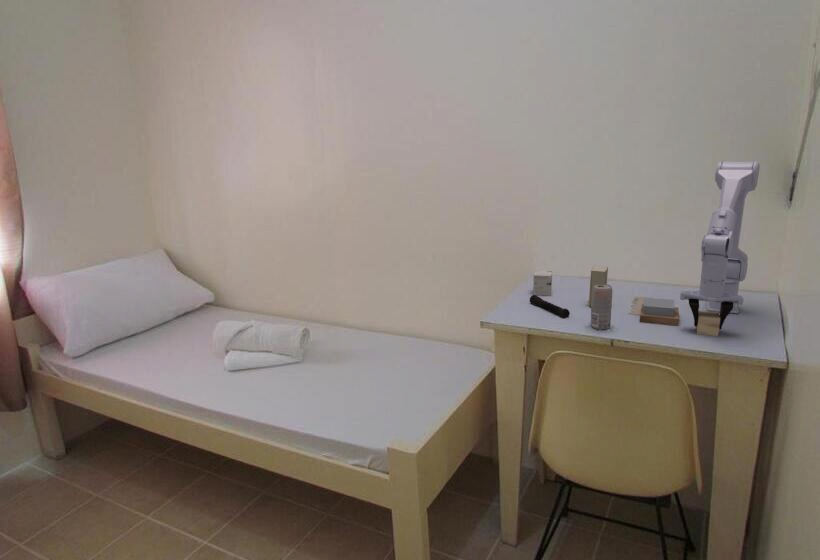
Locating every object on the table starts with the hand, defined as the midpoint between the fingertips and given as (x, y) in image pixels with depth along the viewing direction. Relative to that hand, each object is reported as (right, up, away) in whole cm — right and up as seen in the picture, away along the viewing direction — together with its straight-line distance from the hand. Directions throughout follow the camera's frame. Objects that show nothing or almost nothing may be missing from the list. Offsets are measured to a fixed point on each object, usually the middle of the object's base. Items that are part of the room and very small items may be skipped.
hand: (707, 326), depth 141 cm
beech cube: (0, -1, 0) cm, 2 cm away
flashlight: (-37, +3, +23) cm, 44 cm away
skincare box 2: (-21, +5, +25) cm, 33 cm away
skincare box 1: (-35, +8, +40) cm, 53 cm away
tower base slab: (-8, +1, +12) cm, 14 cm away
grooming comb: (-8, +4, +22) cm, 24 cm away
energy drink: (-26, -1, +8) cm, 28 cm away
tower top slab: (-8, +4, +11) cm, 14 cm away
